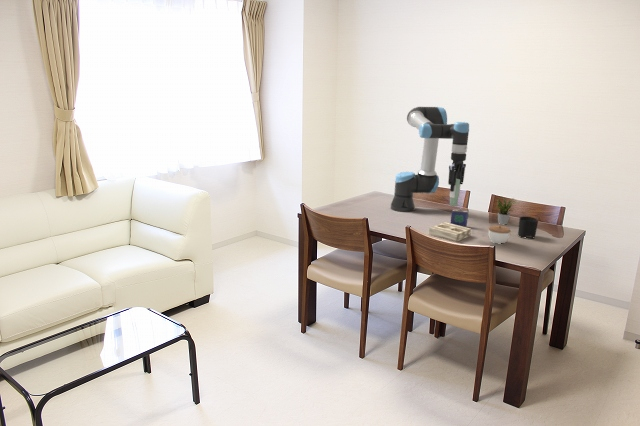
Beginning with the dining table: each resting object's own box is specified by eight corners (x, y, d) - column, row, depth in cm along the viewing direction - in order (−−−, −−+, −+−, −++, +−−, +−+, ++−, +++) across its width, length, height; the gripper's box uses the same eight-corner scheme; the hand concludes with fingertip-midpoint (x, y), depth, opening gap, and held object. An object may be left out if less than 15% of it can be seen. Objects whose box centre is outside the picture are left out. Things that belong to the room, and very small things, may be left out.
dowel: (452, 204, 274) (454, 178, 271) (458, 205, 271) (461, 179, 268) (448, 205, 271) (450, 179, 268) (454, 206, 269) (457, 180, 265)
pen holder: (514, 236, 278) (516, 218, 276) (521, 232, 285) (523, 215, 282) (531, 240, 272) (534, 222, 270) (538, 236, 279) (541, 219, 276)
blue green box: (466, 226, 294) (468, 208, 291) (466, 227, 291) (468, 209, 289) (450, 224, 297) (452, 206, 294) (450, 225, 294) (451, 207, 291)
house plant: (518, 222, 305) (522, 195, 301) (516, 228, 293) (520, 200, 288) (493, 218, 311) (497, 192, 306) (490, 224, 299) (494, 197, 294)
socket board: (444, 229, 287) (445, 222, 286) (470, 235, 276) (471, 228, 275) (429, 234, 276) (429, 227, 275) (455, 242, 265) (456, 234, 264)
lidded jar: (483, 239, 272) (486, 222, 269) (503, 239, 273) (505, 222, 270) (492, 245, 262) (494, 228, 259) (512, 245, 263) (514, 228, 260)
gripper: (456, 154, 256) (452, 200, 262) (473, 152, 268) (468, 195, 274) (443, 152, 261) (439, 197, 267) (460, 150, 273) (456, 193, 279)
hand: (454, 196), depth 270 cm, fingers closed on dowel, 4 cm apart
